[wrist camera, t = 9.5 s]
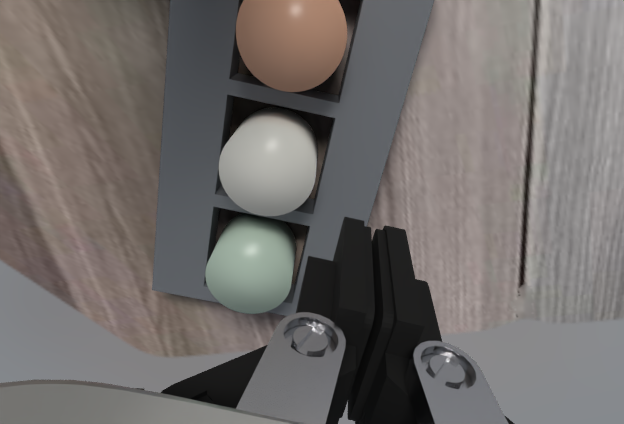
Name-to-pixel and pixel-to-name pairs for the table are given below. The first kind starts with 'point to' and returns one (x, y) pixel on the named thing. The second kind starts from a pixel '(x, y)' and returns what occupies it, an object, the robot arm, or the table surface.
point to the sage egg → (252, 264)
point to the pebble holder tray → (228, 83)
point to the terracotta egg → (291, 41)
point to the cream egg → (270, 162)
